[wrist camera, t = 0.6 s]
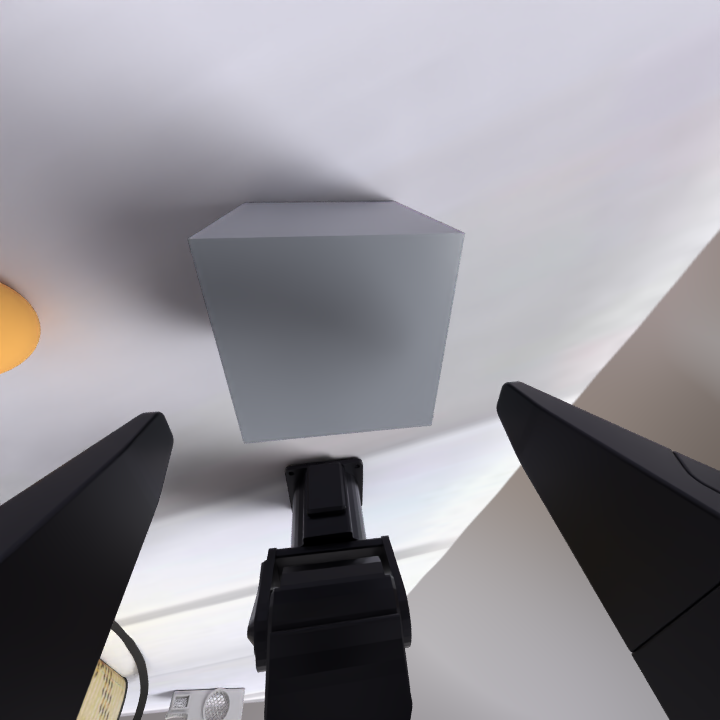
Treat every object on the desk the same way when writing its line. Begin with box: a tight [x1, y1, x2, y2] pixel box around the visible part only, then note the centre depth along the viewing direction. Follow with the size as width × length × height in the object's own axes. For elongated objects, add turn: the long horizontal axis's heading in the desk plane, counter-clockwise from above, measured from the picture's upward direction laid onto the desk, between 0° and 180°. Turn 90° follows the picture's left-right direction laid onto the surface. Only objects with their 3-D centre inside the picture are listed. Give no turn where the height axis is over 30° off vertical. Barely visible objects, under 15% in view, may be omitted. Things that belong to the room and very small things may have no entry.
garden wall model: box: [165, 688, 245, 720], centre depth 51 cm, size 12×2×6 cm, turn 61°
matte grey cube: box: [188, 201, 465, 443], centre depth 14 cm, size 8×8×9 cm
